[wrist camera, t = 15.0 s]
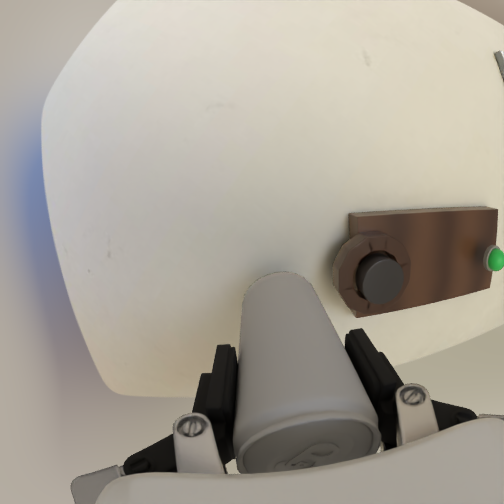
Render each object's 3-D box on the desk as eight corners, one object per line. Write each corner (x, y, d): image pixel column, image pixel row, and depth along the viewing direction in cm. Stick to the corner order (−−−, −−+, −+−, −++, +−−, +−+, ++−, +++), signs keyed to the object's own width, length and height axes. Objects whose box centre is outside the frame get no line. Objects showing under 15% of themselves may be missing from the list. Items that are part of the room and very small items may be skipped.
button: (354, 298, 21) (361, 307, 20) (355, 255, 20) (363, 262, 19) (392, 292, 21) (402, 300, 19) (395, 250, 20) (405, 256, 19)
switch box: (326, 311, 25) (337, 332, 22) (323, 215, 23) (337, 222, 19) (478, 281, 25) (499, 293, 21) (485, 206, 23) (509, 211, 19)
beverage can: (228, 310, 18) (201, 470, 7) (272, 252, 17) (307, 391, 6) (285, 345, 19) (311, 498, 7) (330, 294, 18) (412, 433, 6)
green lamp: (480, 270, 21) (493, 277, 18) (483, 245, 20) (497, 251, 18) (494, 267, 20) (507, 274, 18) (497, 243, 20) (511, 248, 18)
